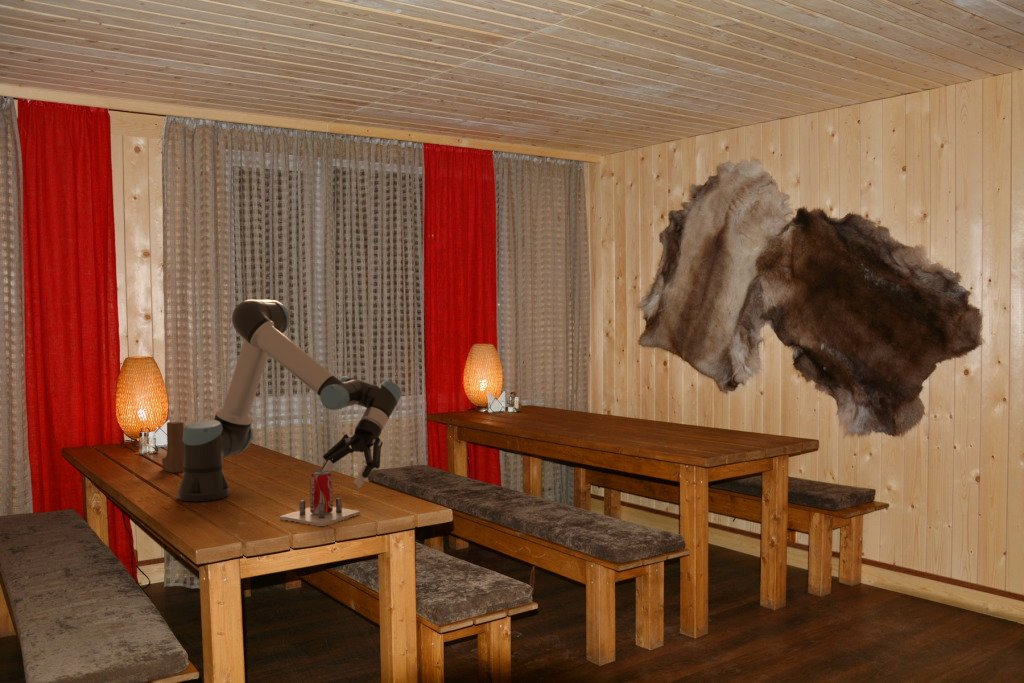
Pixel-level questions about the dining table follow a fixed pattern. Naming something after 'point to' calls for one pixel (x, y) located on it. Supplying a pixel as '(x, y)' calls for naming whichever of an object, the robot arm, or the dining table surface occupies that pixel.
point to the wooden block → (174, 448)
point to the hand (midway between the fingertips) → (338, 483)
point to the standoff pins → (322, 507)
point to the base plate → (315, 519)
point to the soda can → (321, 491)
